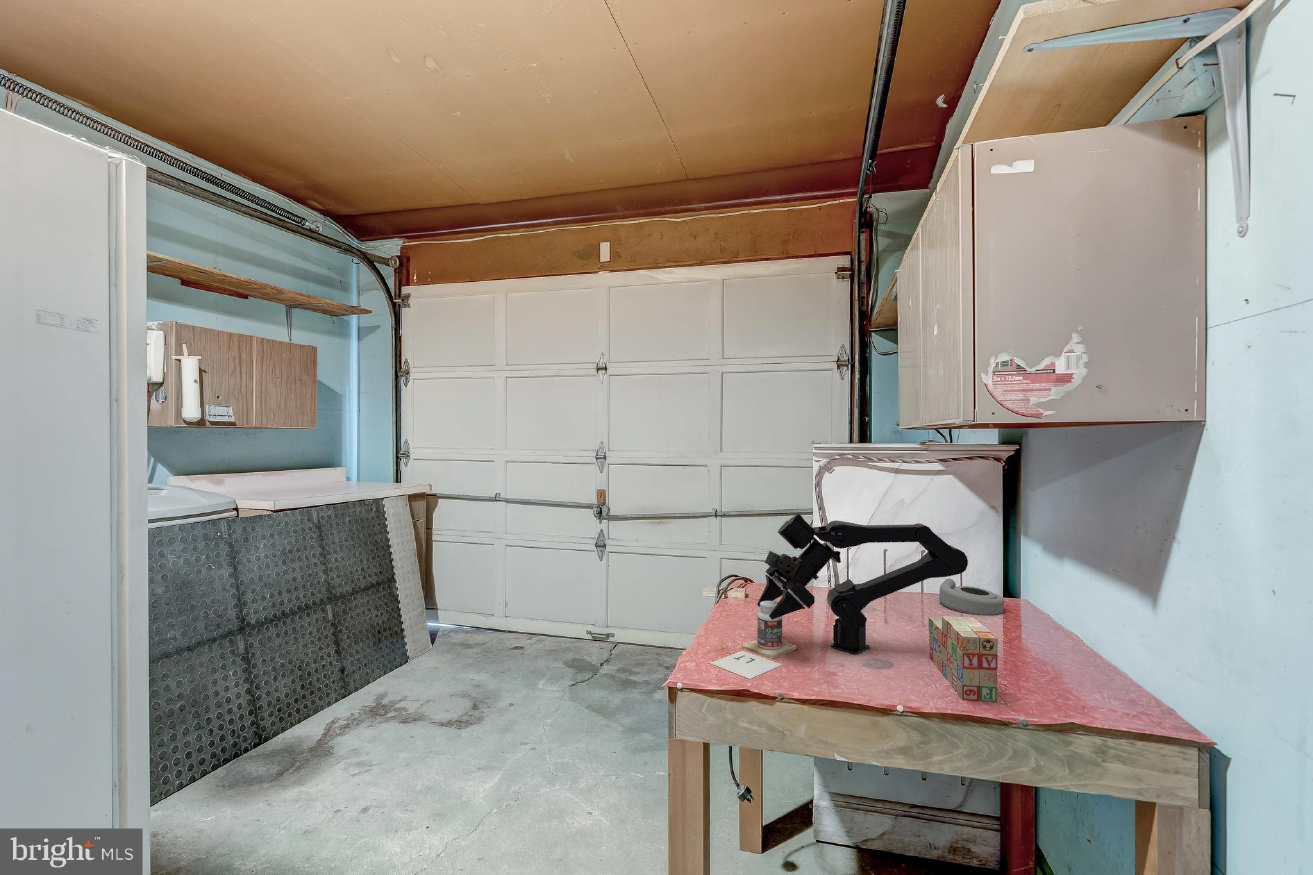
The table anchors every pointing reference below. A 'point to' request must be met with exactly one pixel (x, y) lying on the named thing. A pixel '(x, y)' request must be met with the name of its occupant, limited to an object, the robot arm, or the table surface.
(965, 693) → the stack of blocks
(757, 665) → the card
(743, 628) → the table surface
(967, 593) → the turbocharger housing
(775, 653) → the oak coaster
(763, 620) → the pill bottle
